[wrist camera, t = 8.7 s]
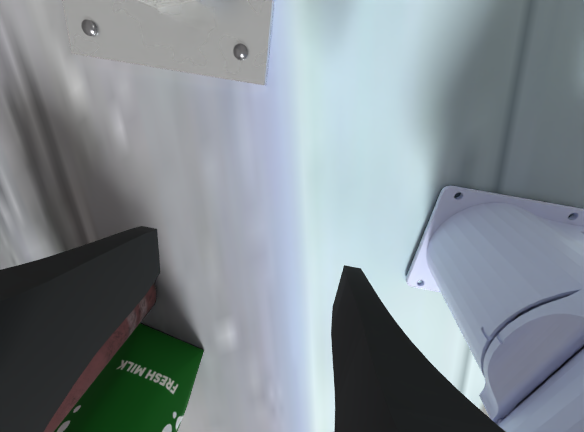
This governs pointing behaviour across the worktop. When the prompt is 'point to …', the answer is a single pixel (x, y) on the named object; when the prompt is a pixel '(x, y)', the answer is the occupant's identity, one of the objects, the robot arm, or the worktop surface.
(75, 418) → the milk carton
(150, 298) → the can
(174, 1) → the sleeve
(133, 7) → the duct plate
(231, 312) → the worktop surface
